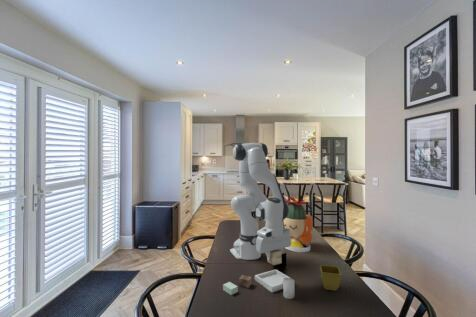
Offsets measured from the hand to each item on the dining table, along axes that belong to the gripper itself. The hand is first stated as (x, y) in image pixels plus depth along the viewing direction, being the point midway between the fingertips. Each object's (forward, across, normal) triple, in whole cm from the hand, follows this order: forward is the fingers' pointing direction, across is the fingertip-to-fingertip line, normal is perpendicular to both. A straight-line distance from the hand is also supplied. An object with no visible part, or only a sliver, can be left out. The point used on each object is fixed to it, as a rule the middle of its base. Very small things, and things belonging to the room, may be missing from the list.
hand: (274, 258), depth 126 cm
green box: (+13, +23, -4) cm, 27 cm away
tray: (+12, 0, 0) cm, 12 cm away
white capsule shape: (+12, +2, +13) cm, 18 cm away
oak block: (+2, 0, 0) cm, 2 cm away
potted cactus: (+12, -48, -32) cm, 58 cm away
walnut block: (+12, +14, -5) cm, 19 cm away
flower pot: (+13, -20, +18) cm, 30 cm away
